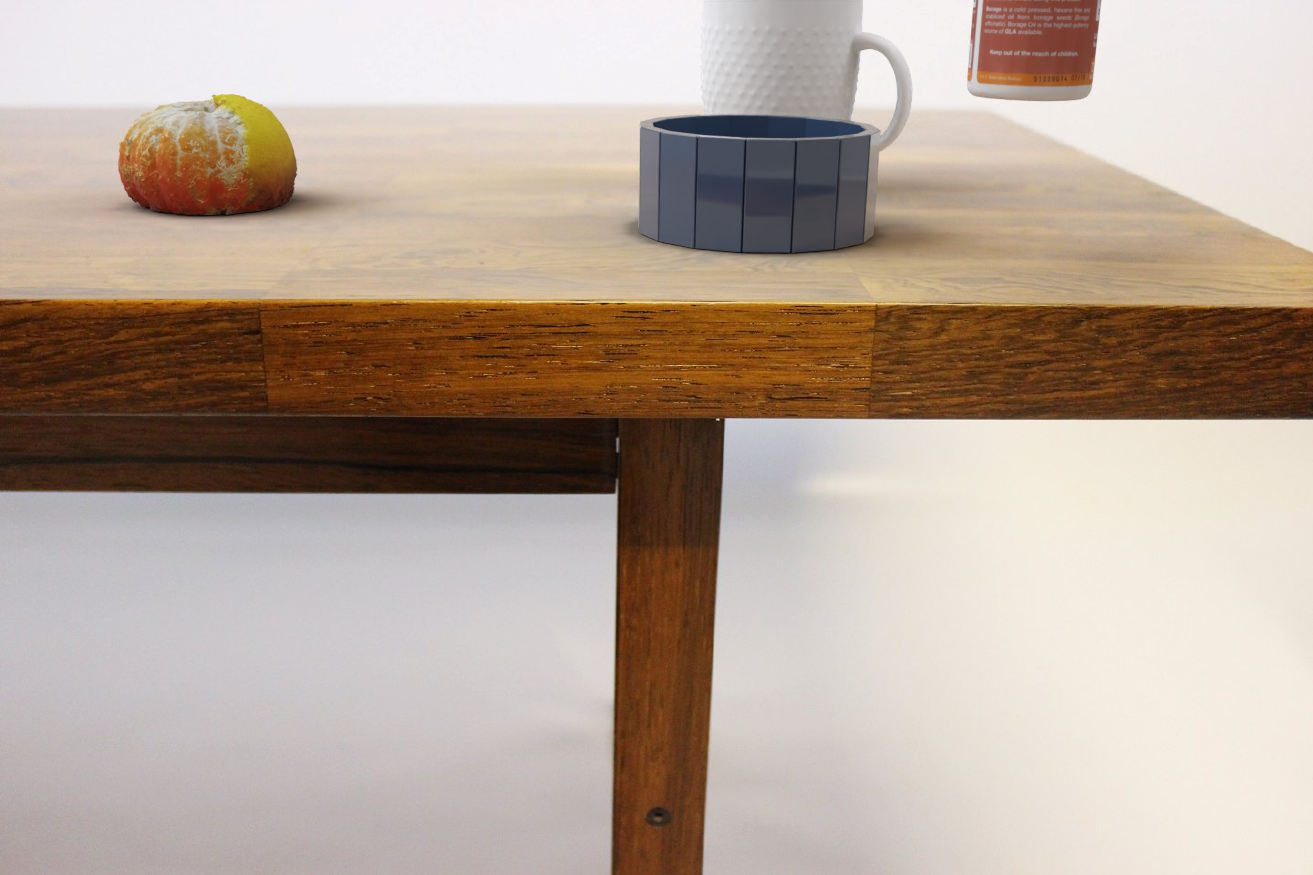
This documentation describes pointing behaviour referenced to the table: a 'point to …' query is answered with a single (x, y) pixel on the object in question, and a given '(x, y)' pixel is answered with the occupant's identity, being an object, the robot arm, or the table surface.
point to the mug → (792, 59)
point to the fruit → (208, 158)
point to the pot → (757, 182)
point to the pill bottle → (1033, 49)
